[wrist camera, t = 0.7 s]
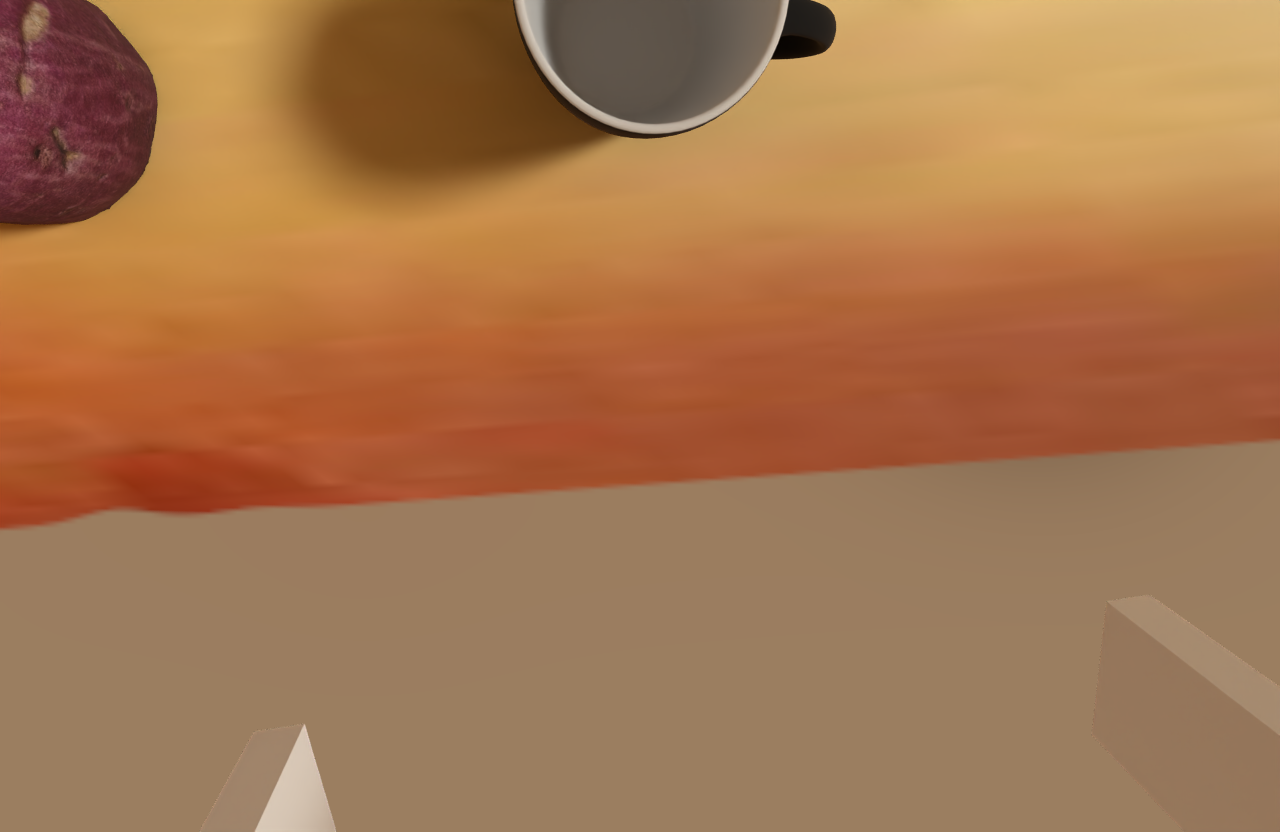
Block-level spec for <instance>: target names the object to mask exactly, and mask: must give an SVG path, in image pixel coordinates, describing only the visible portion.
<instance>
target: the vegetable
mask: <svg viewBox="0 0 1280 832" xmlns="http://www.w3.org/2000/svg"><path fill="white" fill-rule="evenodd" d="M156 117H157V92H156V87H155V83H154V80H153V75H152V74H151V72H150V70H149V68H148V66H147V64H146V63H145V62H144V60H142V58H141V57H140V55H139V54H138V53H137V51H136V50H135V49H134V48H133V46H132V45H131V44H130V43H129V41H128V40H127V39H126V38H125V36H123V35H122V34H121V32H120V31H119V30H118V29H117V28H116V26H115V25H114V24H113V23H112V22H111V21H110V19H109V18H108V17H107V15H106V14H104V13H103V12H102V11H101V10H100V9H99V8H98V7H97V6H95V5H93V4H92V3H90V2H88V1H87V0H0V223H11V224H22V225H29V224H62V223H71V222H78V221H82V220H86V219H88V218H90V217H93V216H95V215H97V214H98V213H100V212H102V211H105V210H106V209H110V207H111V206H112V205H113V204H114V203H115V202H117V201H118V200H119V199H120V198H121V197H122V196H123V195H124V194H125V193H127V192H128V191H129V190H130V189H131V188H132V187H133V186H134V185H135V184H136V183H137V181H138V180H139V178H140V177H141V175H142V174H143V172H144V171H145V167H146V165H147V164H148V163H149V162H148V160H149V157H150V153H151V146H152V141H153V138H154V131H155V124H156Z"/></svg>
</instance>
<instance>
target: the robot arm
mask: <svg viewBox="0 0 1280 832" xmlns="http://www.w3.org/2000/svg"><path fill="white" fill-rule="evenodd" d="M1092 736H1093V737H1094V738H1095V739H1096V740H1097V741H1098V742H1099V743H1100V744H1101V745H1102V746H1103V747H1104V748H1105V750H1106V751H1107V752H1108V753H1109V754H1110V755H1111V756H1112V757H1113V758H1114V759H1115V760H1116V761H1117V762H1118V763H1119V764H1120V765H1121V766H1122V767H1123V768H1124V769H1125V770H1126V772H1127V773H1129V775H1130V776H1131V777H1132V778H1133V779H1134V780H1135V781H1136V782H1137V783H1138V784H1139V785H1140V786H1141V787H1142V788H1143V789H1144V790H1145V791H1146V792H1147V793H1148V795H1150V797H1151V798H1152V799H1153V800H1154V801H1156V803H1157V804H1158V805H1159V806H1160V807H1161V808H1162V809H1163V810H1164V811H1165V812H1166V813H1167V814H1168V816H1170V818H1171V819H1172V820H1173V821H1174V822H1175V823H1176V824H1177V825H1178V826H1179V827H1180V828H1181V829H1182V830H1183V831H1184V832H1280V687H1279V686H1278V685H1276V684H1275V683H1274V682H1272V681H1271V680H1270V679H1268V678H1267V677H1265V676H1264V675H1262V674H1261V673H1260V672H1258V671H1257V670H1255V669H1254V668H1253V667H1251V666H1250V665H1248V664H1247V663H1246V662H1244V661H1243V660H1241V659H1240V658H1238V657H1237V656H1236V655H1234V654H1233V653H1231V652H1230V651H1229V650H1227V649H1226V648H1224V647H1223V646H1222V645H1220V644H1219V643H1217V642H1216V641H1214V640H1213V639H1212V638H1210V637H1209V636H1207V635H1206V634H1204V633H1203V632H1202V631H1200V630H1199V629H1197V628H1196V627H1195V626H1193V625H1192V624H1190V623H1189V622H1188V621H1186V620H1185V619H1183V618H1182V617H1181V616H1179V615H1177V614H1176V613H1175V612H1173V611H1172V610H1171V609H1169V608H1168V607H1166V606H1165V605H1164V604H1162V603H1161V602H1159V601H1158V600H1156V599H1155V598H1154V597H1152V596H1151V595H1145V596H1137V597H1131V598H1125V599H1118V600H1111V601H1106V609H1105V619H1104V628H1103V637H1102V645H1101V655H1100V664H1099V673H1098V682H1097V691H1096V700H1095V709H1094V718H1093V727H1092ZM199 832H336V829H335V825H334V822H333V818H332V815H331V812H330V808H329V805H328V802H327V798H326V795H325V791H324V789H323V785H322V781H321V778H320V775H319V771H318V768H317V764H316V761H315V758H314V754H313V751H312V748H311V744H310V741H309V737H308V734H307V731H306V727H305V724H299V725H293V726H287V727H280V728H273V729H267V730H261V731H254V732H253V734H252V736H251V738H250V740H249V741H248V743H247V745H246V747H245V749H244V750H243V752H242V754H241V756H240V758H239V760H238V761H237V764H236V765H235V767H234V769H233V771H232V772H231V774H230V776H229V778H228V780H227V782H226V783H225V786H224V787H223V789H222V791H221V793H220V795H219V796H218V798H217V800H216V802H215V804H214V805H213V807H212V809H211V811H210V813H209V815H208V816H207V818H206V820H205V822H204V824H203V826H202V828H201V830H200V831H199Z"/></svg>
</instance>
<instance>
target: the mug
mask: <svg viewBox="0 0 1280 832" xmlns="http://www.w3.org/2000/svg"><path fill="white" fill-rule="evenodd" d="M513 6H514V11H515V16H516V21H517V25H518V28H519V32H520V35H521V38H522V41H523V43H524V46H525V49H526V51H527V54H528V56H529V58H530V60H531V62H532V64H533V66H534V68H535V70H536V71H537V73H538V74H539V76H540V78H541V79H542V81H543V82H544V84H545V85H546V87H547V88H548V89H549V91H550V92H551V93H552V94H553V95H554V97H555V98H556V99H557V100H558V101H559V102H560V103H561V104H562V105H563V106H564V107H565V108H566V109H567V110H569V111H570V112H571V113H572V114H574V115H575V116H576V117H578V118H579V119H580V120H582V121H584V122H585V123H587V124H589V125H591V126H593V127H595V128H597V129H599V130H602V131H604V132H607V133H610V134H614V135H618V136H622V137H629V138H642V139H649V138H662V137H667V136H673V135H677V134H681V133H684V132H688V131H691V130H693V129H696V128H698V127H701V126H703V125H705V124H706V123H708V122H710V121H712V120H714V119H716V118H717V117H719V116H720V115H722V114H723V113H725V112H726V111H728V110H729V109H730V108H731V107H732V106H734V105H735V104H736V103H737V102H738V101H740V100H741V99H742V98H743V97H744V96H745V95H746V94H747V93H748V91H749V90H750V89H751V88H752V87H753V85H754V84H755V83H756V82H757V80H758V79H759V77H760V76H761V75H762V73H763V72H764V70H765V68H766V67H767V65H768V63H769V61H770V59H794V58H802V57H808V56H813V55H817V54H820V53H823V52H825V51H826V50H827V49H828V48H829V47H830V46H831V44H832V42H833V40H834V37H835V33H836V21H835V17H834V14H833V13H832V11H831V10H830V9H829V8H828V7H826V6H824V5H822V4H820V3H817V2H815V1H812V0H513Z"/></svg>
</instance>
